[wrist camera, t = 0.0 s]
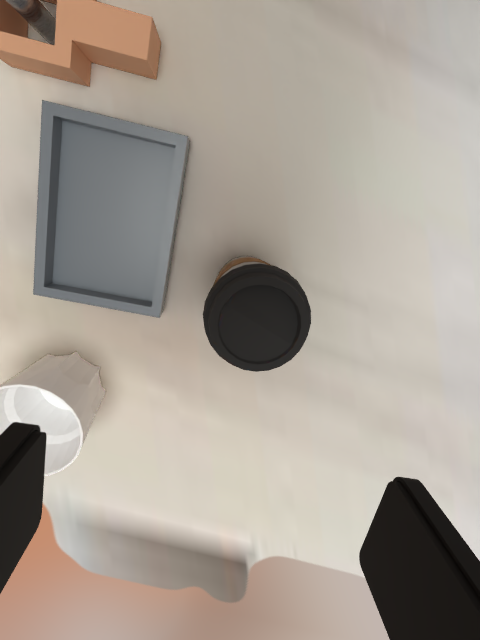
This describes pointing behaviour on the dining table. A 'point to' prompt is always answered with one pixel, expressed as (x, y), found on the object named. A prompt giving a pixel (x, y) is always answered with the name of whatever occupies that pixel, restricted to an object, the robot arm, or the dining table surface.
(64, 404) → the cup
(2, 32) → the orange flat handled frame
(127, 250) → the tray
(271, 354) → the coffee cup
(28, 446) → the robot arm
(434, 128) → the dining table surface
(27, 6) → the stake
